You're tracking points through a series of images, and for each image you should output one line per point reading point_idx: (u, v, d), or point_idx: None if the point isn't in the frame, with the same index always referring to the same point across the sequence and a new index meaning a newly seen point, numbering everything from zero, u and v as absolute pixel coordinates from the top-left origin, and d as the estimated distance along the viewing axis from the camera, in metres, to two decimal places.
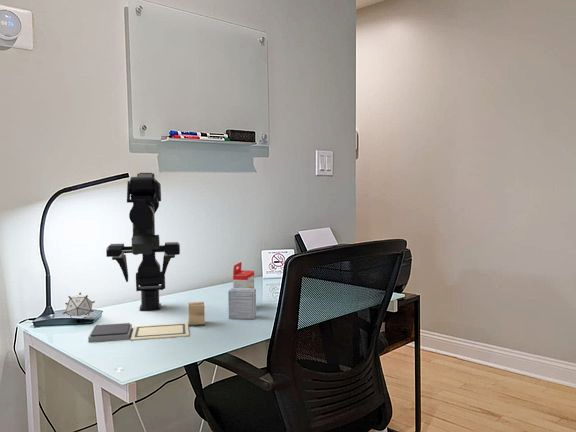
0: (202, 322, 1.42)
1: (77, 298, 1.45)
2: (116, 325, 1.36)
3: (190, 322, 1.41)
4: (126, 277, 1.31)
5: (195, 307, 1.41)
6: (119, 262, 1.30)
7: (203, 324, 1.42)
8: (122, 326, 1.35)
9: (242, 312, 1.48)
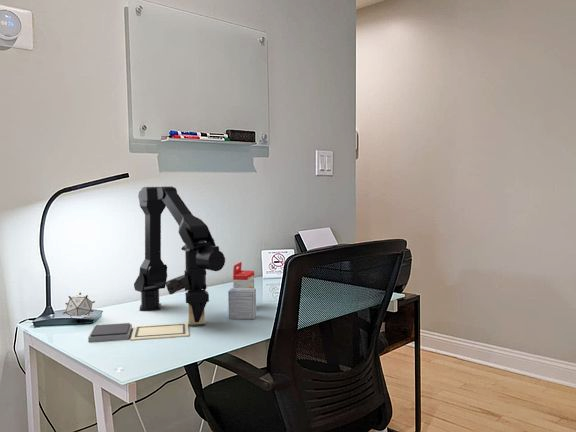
0: (202, 322, 1.42)
1: (77, 298, 1.45)
2: (116, 325, 1.36)
3: (190, 322, 1.41)
4: None
5: None
6: None
7: (203, 324, 1.42)
8: (122, 326, 1.35)
9: (242, 312, 1.48)
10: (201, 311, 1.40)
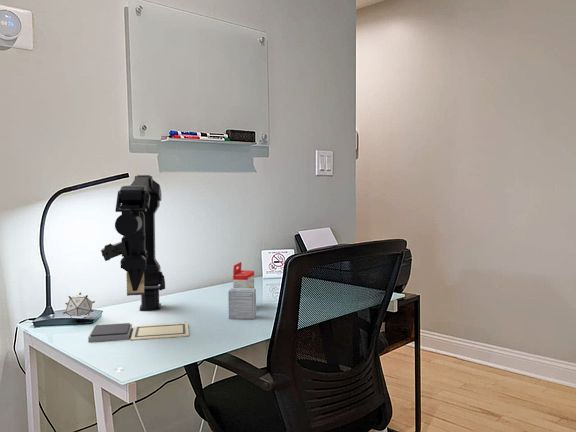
0: (141, 291, 1.33)
1: (77, 298, 1.45)
2: (116, 325, 1.36)
3: (128, 290, 1.32)
4: None
5: None
6: None
7: (142, 293, 1.33)
8: (122, 326, 1.35)
9: (242, 312, 1.48)
10: (139, 279, 1.32)
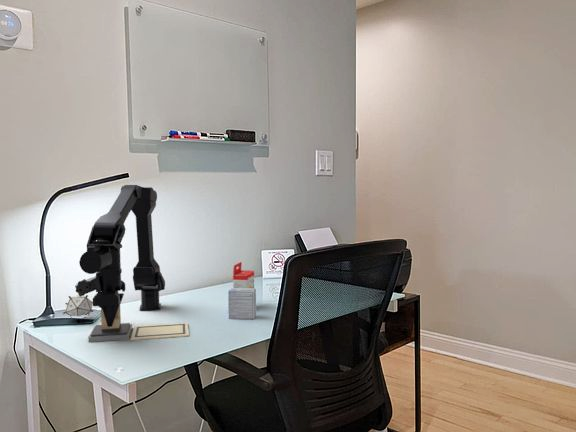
0: (116, 326, 1.31)
1: (77, 298, 1.45)
2: None
3: (103, 326, 1.31)
4: None
5: None
6: None
7: (117, 328, 1.32)
8: (122, 326, 1.35)
9: (242, 312, 1.48)
10: (114, 315, 1.30)
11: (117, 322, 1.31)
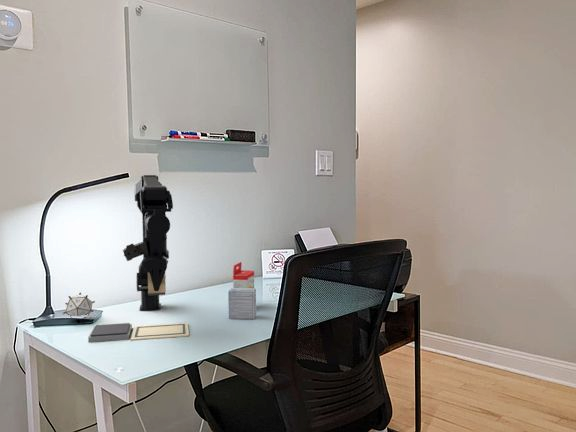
0: (162, 291, 1.33)
1: (77, 298, 1.45)
2: (116, 325, 1.36)
3: (149, 290, 1.33)
4: None
5: None
6: None
7: (163, 293, 1.33)
8: (122, 326, 1.35)
9: (242, 312, 1.48)
10: (160, 279, 1.32)
11: (163, 287, 1.33)
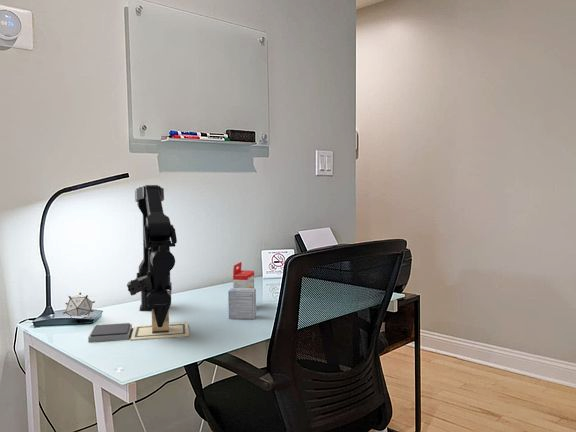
0: (166, 328, 1.34)
1: (77, 298, 1.45)
2: (116, 325, 1.36)
3: (153, 328, 1.34)
4: None
5: None
6: None
7: (167, 330, 1.34)
8: (122, 326, 1.35)
9: (242, 312, 1.48)
10: (164, 315, 1.31)
11: (167, 324, 1.34)
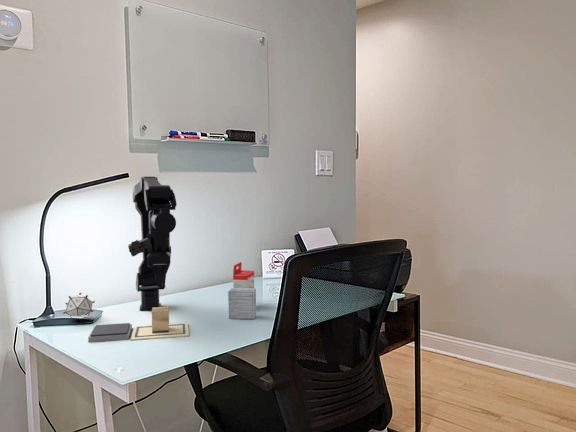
0: (166, 328, 1.34)
1: (77, 298, 1.45)
2: (116, 325, 1.36)
3: (153, 328, 1.34)
4: None
5: (158, 312, 1.34)
6: None
7: (167, 330, 1.34)
8: (122, 326, 1.35)
9: (242, 312, 1.48)
10: (164, 275, 1.36)
11: (167, 324, 1.34)
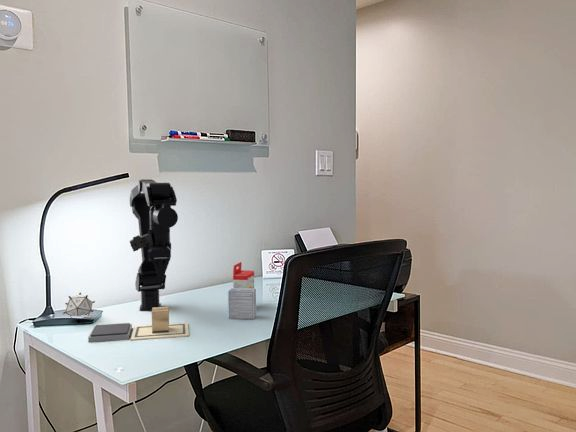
0: (166, 328, 1.34)
1: (77, 298, 1.45)
2: (116, 325, 1.36)
3: (153, 328, 1.34)
4: None
5: (158, 312, 1.34)
6: None
7: (167, 330, 1.34)
8: (122, 326, 1.35)
9: (242, 312, 1.48)
10: (164, 269, 1.40)
11: (167, 324, 1.34)
